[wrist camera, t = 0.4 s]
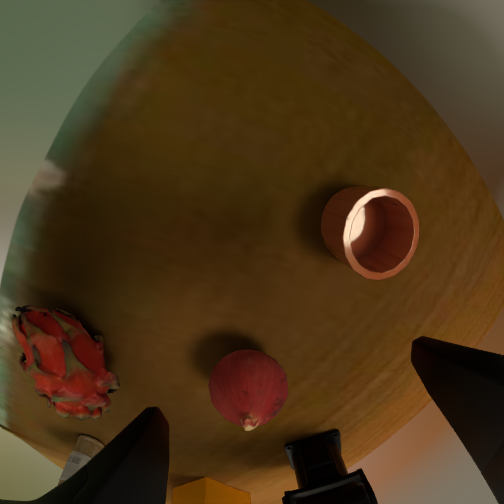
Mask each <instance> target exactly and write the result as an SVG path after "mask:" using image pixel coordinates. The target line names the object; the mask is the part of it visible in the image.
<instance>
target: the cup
mask: <svg viewBox="0 0 504 504" xmlns="http://www.w3.org/2000/svg"><path fill="white" fill-rule="evenodd" d="M321 233H322V237H323V240H324V243H325V244H326V246H327V248H328V249H329V250H330V251H331V252H332V253H333V255H334V256H336V257H337V258H338V259H340V260H341V261H342V262H344V263H345V264H346V265H348V266H349V267H350V268H351V269H353V270H354V271H356V272H357V273H359V274H360V275H362V276H363V277H365V278H367V279H376V280H383V279H386V278H389V277H391V276H394V275H396V274H397V273H398V272H400V271H401V270H402V269H403V268H404V267H405V266H407V264H408V263H409V261H410V259H411V258H412V256H413V254H414V253H415V251H416V247H417V243H418V238H419V222H418V216H417V214H416V212H415V209H414V207H413V205H412V203H411V202H410V201H409V200H408V199H407V198H406V197H405V196H404V195H403V194H402V193H400V192H399V191H395V190H392V189H388V188H382V187H368V186H353V187H348V188H344V189H342V190H340V191H339V192H337V193H336V194H335V195H333V196H332V198H331V199H330V200H329V201H328V203H327V204H326V206H325V208H324V211H323V214H322V218H321Z"/></svg>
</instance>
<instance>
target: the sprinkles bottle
mask: <svg viewBox="0 0 504 504" xmlns="http://www.w3.org/2000/svg"><path fill="white" fill-rule="evenodd" d="M77 440H78V441H77V443H76V445H75V448H74V450H73V452H71V454H70V457H69V459H68V461H67V463H66V465H65V468H64V470H63V472H62V475H61V477H60V479H59V483H58V485H60V484H61V483H63V482H64V481H65V480H67V479H68V478H69V477H71V476H72V475H73V474H74V473H76V472H77V471H78V470H79V469H80V468H81V467H83V466H84V465H85V464H87V462H88V461H89V460H91V459H92V458H93V457H94V456H95V455H96V454H97V453H98V452H99V451H101V450H102V449H103V448H104V447H105V446H104V445H103V444H102V443H101V442H99V441H98V440H96V439H94V438H92V437H90V436H85V435H81V436H79V437H78V439H77Z"/></svg>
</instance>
